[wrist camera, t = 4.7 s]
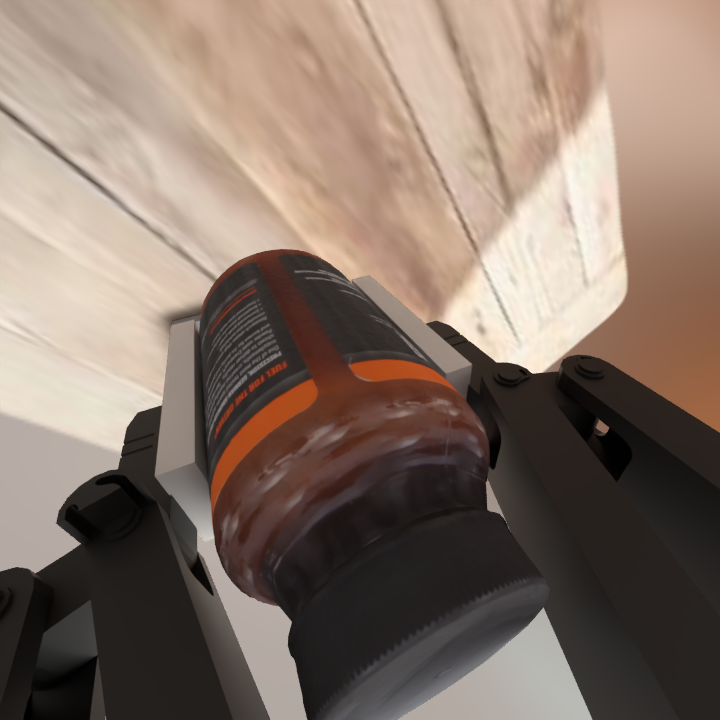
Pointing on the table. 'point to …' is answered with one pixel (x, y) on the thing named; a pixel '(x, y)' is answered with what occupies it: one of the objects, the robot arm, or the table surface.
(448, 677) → the supplement bottle
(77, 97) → the table surface
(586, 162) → the table surface
